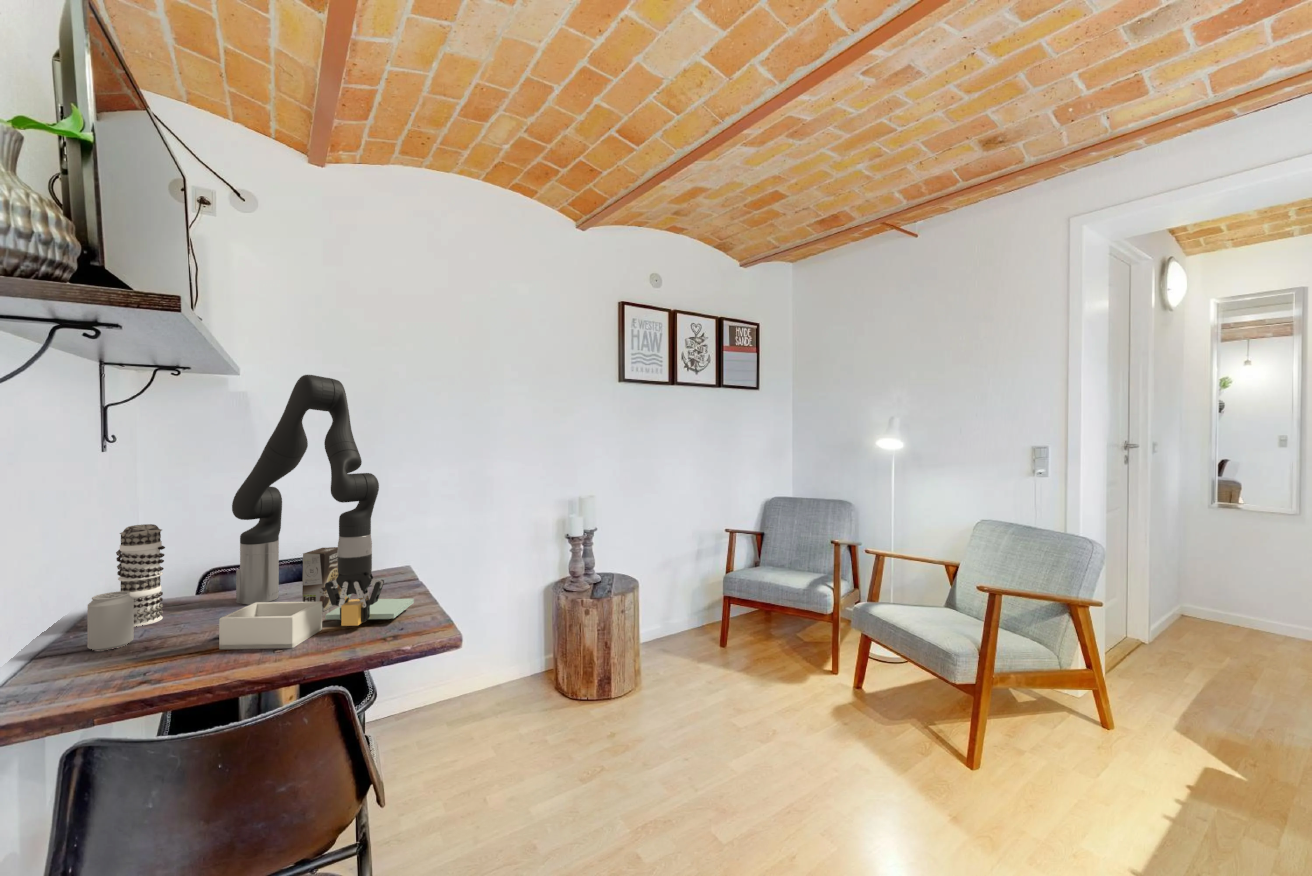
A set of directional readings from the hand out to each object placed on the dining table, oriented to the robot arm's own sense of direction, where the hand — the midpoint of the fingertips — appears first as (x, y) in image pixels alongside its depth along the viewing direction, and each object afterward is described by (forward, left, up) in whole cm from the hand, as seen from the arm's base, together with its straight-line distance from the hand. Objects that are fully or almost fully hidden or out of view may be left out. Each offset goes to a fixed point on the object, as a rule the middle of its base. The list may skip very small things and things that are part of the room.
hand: (354, 621), depth 136 cm
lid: (0, +6, -1) cm, 7 cm away
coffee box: (-18, +19, -2) cm, 26 cm away
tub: (-16, -6, -2) cm, 17 cm away
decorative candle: (-58, +8, -2) cm, 59 cm away
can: (-50, -9, -2) cm, 51 cm away
